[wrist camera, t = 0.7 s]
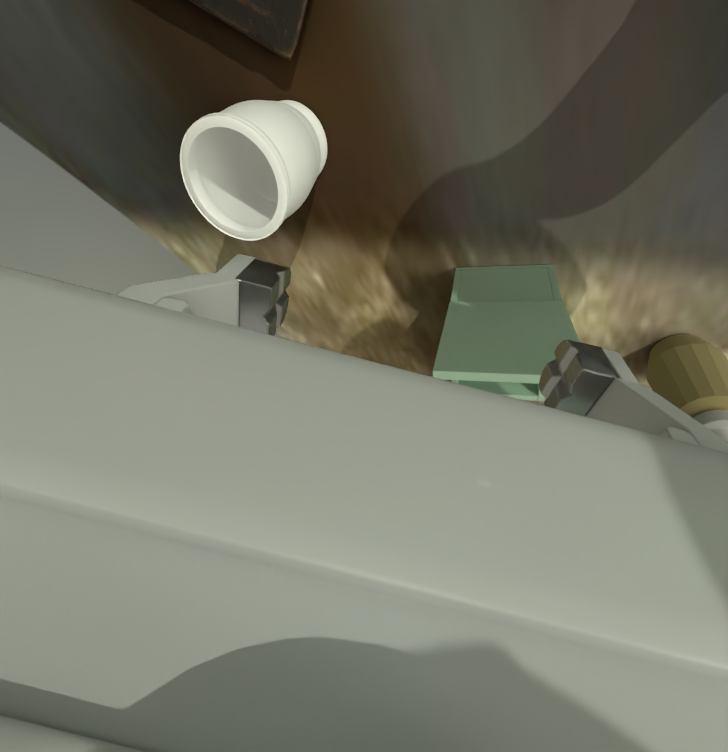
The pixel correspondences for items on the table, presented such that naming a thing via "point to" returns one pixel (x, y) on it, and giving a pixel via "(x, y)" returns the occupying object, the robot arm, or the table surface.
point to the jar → (252, 165)
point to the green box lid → (501, 340)
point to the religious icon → (262, 20)
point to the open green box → (506, 287)
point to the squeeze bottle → (692, 379)
